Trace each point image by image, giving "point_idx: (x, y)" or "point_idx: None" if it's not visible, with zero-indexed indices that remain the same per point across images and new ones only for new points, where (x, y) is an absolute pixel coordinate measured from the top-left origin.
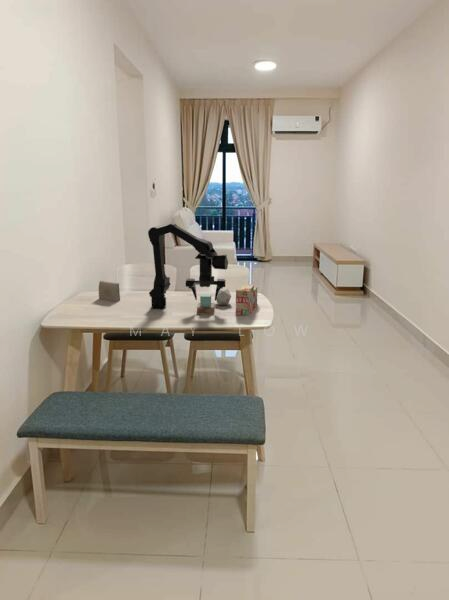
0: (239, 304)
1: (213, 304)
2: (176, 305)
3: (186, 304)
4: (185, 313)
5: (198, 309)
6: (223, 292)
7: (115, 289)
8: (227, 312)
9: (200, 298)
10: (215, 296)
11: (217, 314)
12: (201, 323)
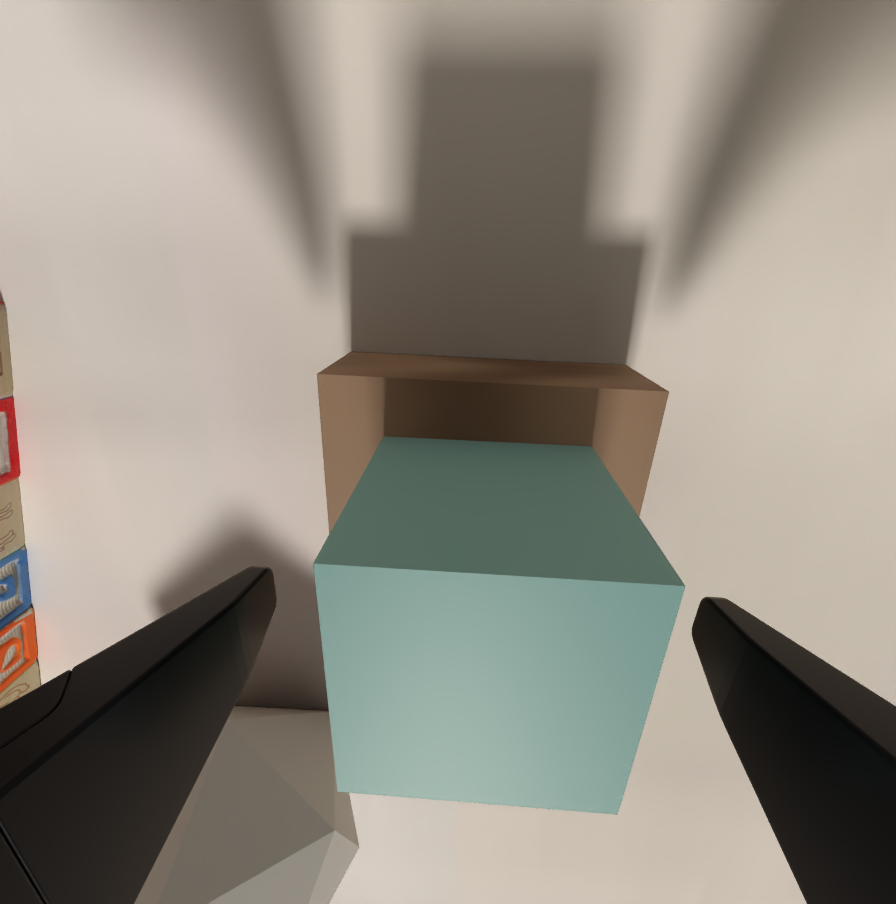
0: None
1: None
2: None
3: (713, 742)
4: (822, 371)
5: (622, 380)
6: (156, 898)
7: None
8: (155, 415)
9: (648, 542)
10: (194, 623)
11: (288, 310)
12: None
